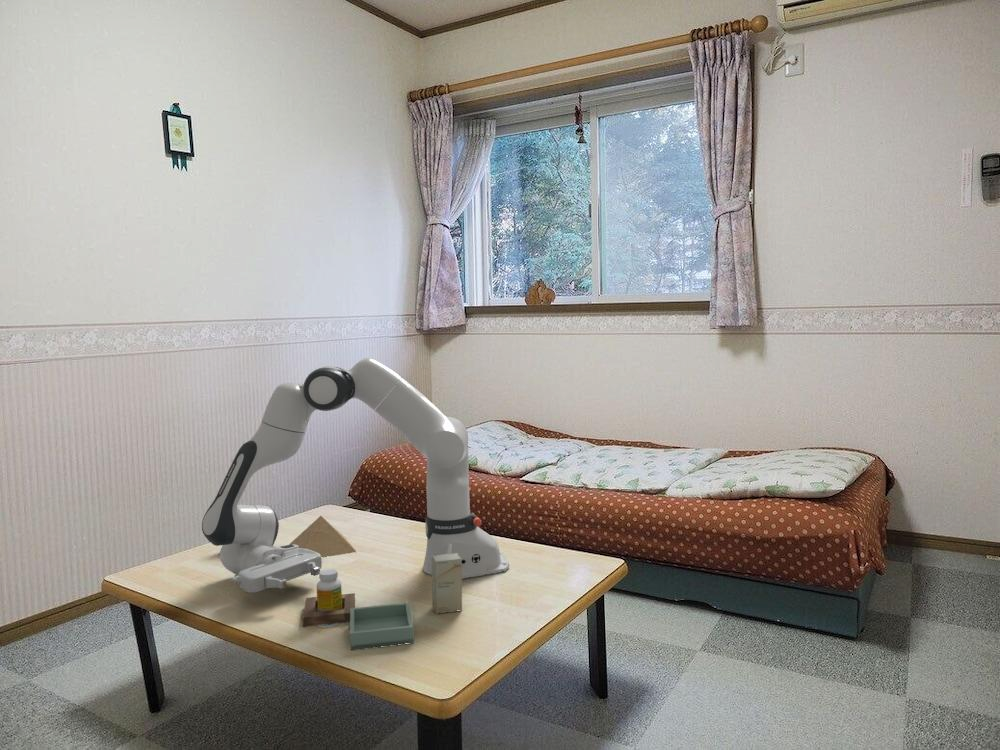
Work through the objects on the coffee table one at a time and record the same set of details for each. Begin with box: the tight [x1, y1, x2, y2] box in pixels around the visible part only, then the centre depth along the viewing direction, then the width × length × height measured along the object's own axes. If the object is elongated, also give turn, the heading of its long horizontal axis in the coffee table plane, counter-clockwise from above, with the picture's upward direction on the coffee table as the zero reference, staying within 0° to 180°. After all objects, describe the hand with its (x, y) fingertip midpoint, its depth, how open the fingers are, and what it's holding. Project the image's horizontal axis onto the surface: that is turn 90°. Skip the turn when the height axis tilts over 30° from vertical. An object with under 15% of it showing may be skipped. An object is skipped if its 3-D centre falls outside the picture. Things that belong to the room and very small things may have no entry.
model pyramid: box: [288, 515, 357, 558], centre depth 207 cm, size 17×17×10 cm
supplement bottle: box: [316, 568, 343, 612], centre depth 162 cm, size 5×5×10 cm
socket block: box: [302, 592, 356, 628], centre depth 162 cm, size 11×11×2 cm
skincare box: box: [431, 553, 463, 615], centre depth 163 cm, size 6×4×12 cm
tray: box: [349, 602, 415, 651], centre depth 152 cm, size 13×13×4 cm
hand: (301, 577), depth 169 cm, fingers open, 8 cm apart
